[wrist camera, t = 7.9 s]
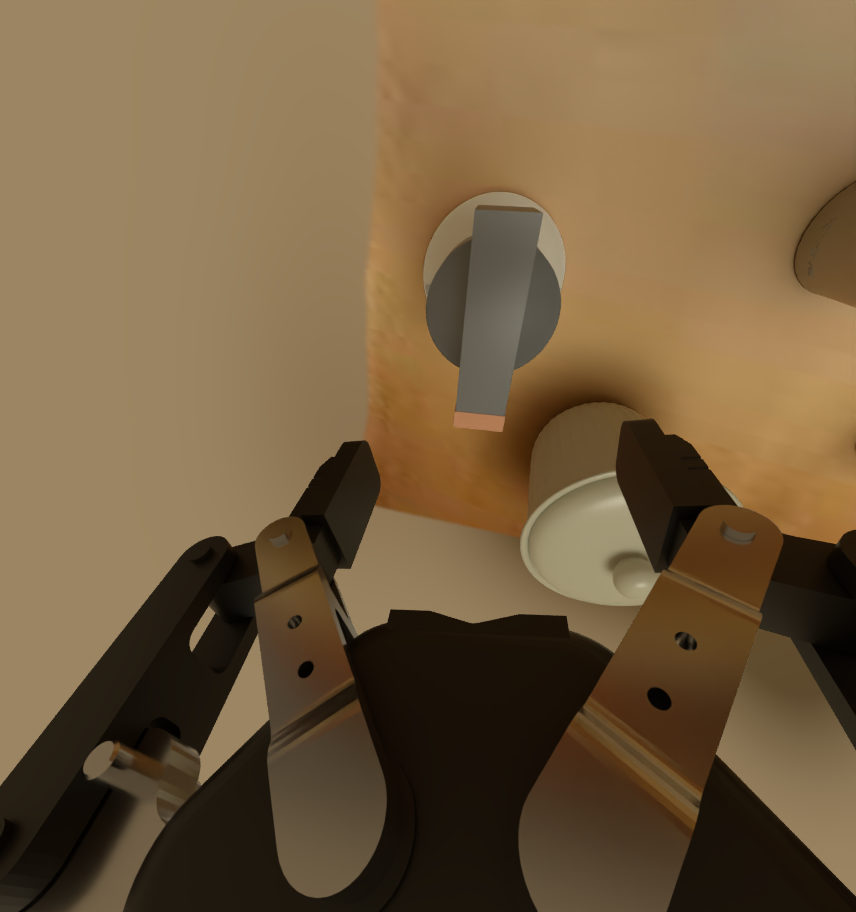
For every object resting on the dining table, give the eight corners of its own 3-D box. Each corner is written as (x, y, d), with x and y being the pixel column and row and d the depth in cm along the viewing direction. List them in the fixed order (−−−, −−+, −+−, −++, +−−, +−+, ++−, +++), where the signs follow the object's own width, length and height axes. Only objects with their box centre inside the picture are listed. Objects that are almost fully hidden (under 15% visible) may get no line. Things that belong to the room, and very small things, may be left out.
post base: (564, 175, 30) (586, 172, 23) (560, 331, 37) (576, 365, 30) (414, 209, 33) (392, 216, 26) (438, 347, 40) (426, 382, 33)
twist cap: (437, 199, 24) (414, 206, 17) (573, 206, 24) (608, 216, 16) (430, 368, 32) (411, 422, 25) (533, 378, 31) (545, 436, 24)
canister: (491, 409, 44) (489, 546, 27) (656, 348, 37) (788, 482, 20) (538, 509, 53) (559, 659, 36) (679, 474, 46) (785, 640, 29)
